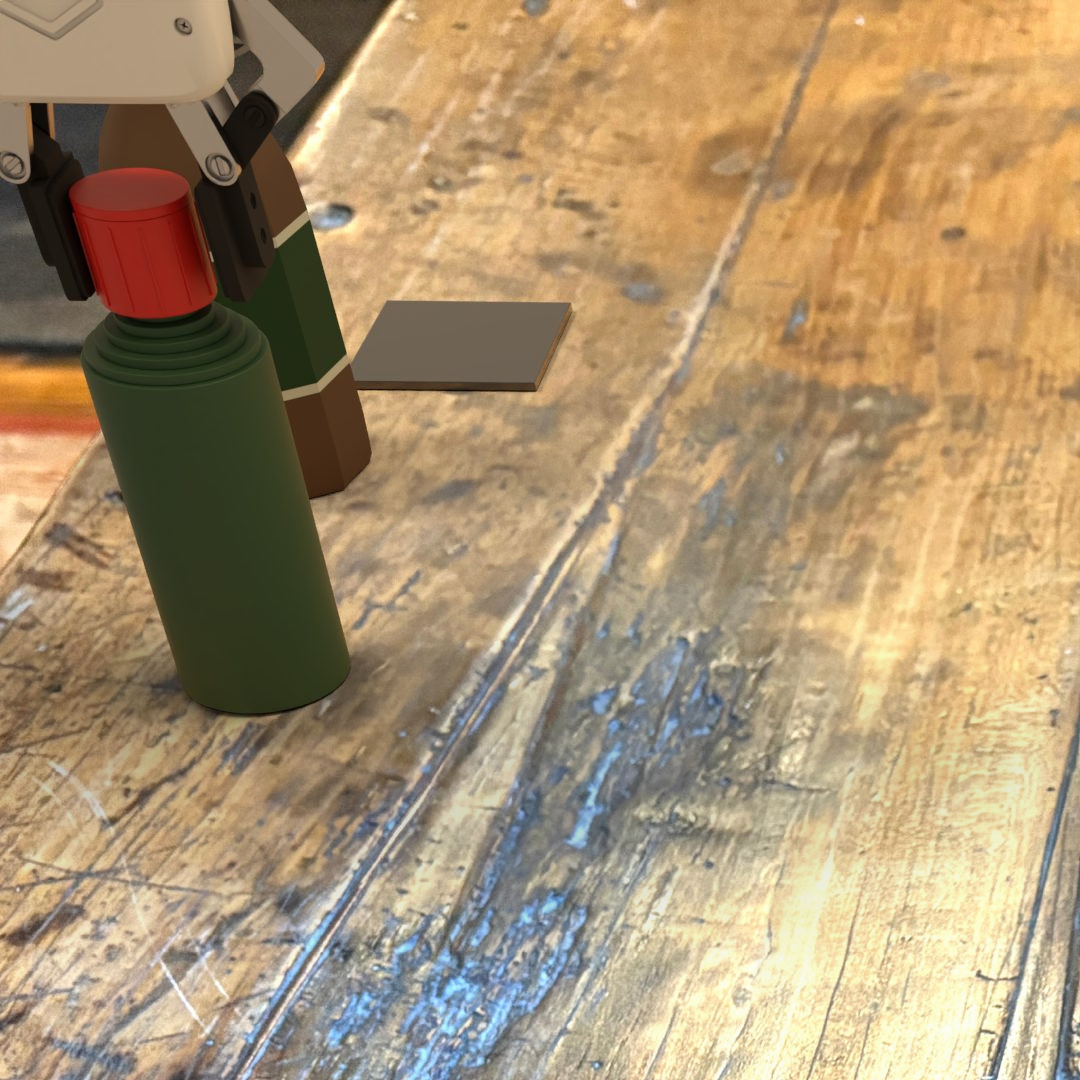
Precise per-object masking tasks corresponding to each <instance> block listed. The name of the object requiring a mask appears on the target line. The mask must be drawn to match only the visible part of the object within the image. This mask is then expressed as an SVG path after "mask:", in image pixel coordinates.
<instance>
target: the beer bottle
mask: <svg viewBox="0 0 1080 1080" xmlns="http://www.w3.org/2000/svg"><path fill="white" fill-rule="evenodd" d="M235 95H236V97H237V99H238V101H239V102H240V100H241V99H242V98H240V97H239V96H238V95H237V94H236V93H235ZM98 139H99V140H98V170H97V171H98V172H97V173H100V172H104V171H108V170H114V169H123V168H153V169H160V170H165V171H169V172H173V173H176V174H178V175H180V176H182V177H183V178H185V179H186V180H187V182H188V183H189V186H190V190H191V194H192V197H193V201H195V197H194V188H195V187H196V185H197V184H198V182H199V181H200V180H201V178H202V176H201V172H200V169H199V166H198V161H197V160H196V158H195V156H194V154H193V153H192V151H191V149H190V147H189V146H188V144H187V142H186V140H185V139H184V137H183V135H182V133H181V132H180V130H179V128H178V126H177V125H176V123H175V121H174V119H173V118H172V116H171V114H170V112H169V111H168V109H167V107H166V105H165V104H108V108H107V111H106V114H105V117H104V120H103V123H102V126H101V129H100V132H99V136H98ZM250 162H251V165H252V169H253V172H254V175H255V179H256V182H257V186H258V189H259V193H260V196H261V200H262V203H263V207H264V210H265V214H266V217H267V221H268V224H269V228H270V231H271V234H272V238H273V242H274V248H275V258H274V262H273V264H272V265H271V267H270V268H268V272H267V274H266V276H265V278H264V279H263V281H262V282H261V284H260V286H259V287H258V289H257V290H256V292H255V293H254V295H253V297H252V298H251V300H250V301H249V302H232V301H231V299H230V298H226V297H225V295H224V293H223V289H222V286H221V283H220V280H219V276H218V273H217V270H216V266H215V263H214V260H213V257H212V253H211V250H210V247H209V244H208V240H207V237H206V234H205V231H204V227H203V224H202V227H203V231H204V235H205V238H206V242H207V246H208V249H209V253H210V257H211V261H212V264H213V268H214V272H215V275H216V279H217V283H216V286H217V295H216V297H215V299H214V300H213V301H215V302H217V303H219V304H221V305H222V306H224V307H227V308H229V309H231V310H233V311H235V312H236V313H238V314H241V315H243V316H245V317H246V318H248V319H250V320H251V321H252V322H253V323H254V324H255V325H256V326H257V328H258V329H259V330H260V331H262V333H263V334H264V335H265V336H266V338H267V340H268V342H269V345H270V349H271V353H272V357H273V361H274V365H275V369H276V373H277V376H278V380H279V384H280V388H281V392H282V396H283V400H284V404H285V407H286V411H287V415H288V419H289V423H290V427H291V431H292V435H293V439H294V442H295V446H296V450H297V454H298V458H299V462H300V466H301V470H302V473H303V477H304V481H305V485H306V489H307V493H308V497H309V500H310V499H313V498H317V497H321V496H324V495H328V494H333V493H335V492H339V491H343V490H345V489H346V487H348V485H349V484H350V483H352V481H353V480H354V479H355V478H356V477H357V476H358V474H360V473H361V472H362V470H364V468H365V467H366V466H367V465H368V464H369V463H370V462H371V457H372V453H373V451H372V447H371V446H372V445H371V442H370V436H369V432H368V427H367V423H366V417H365V413H364V410H363V406H362V402H361V399H360V396H359V392H358V391H359V390H358V389H357V388H356V384H355V380H354V377H353V373H352V369H351V366H350V364H351V361H350V359H349V356H348V351H347V348H346V344H345V340H344V338H343V337H344V336H343V334H342V329H341V326H340V323H339V319H338V316H337V312H336V309H335V304H334V302H333V297H332V294H331V290H330V286H329V283H328V279H327V276H326V272H325V268H324V265H323V261H322V257H321V254H320V250H319V247H318V243H317V240H316V236H315V233H314V229H313V228H314V227H313V225H312V222H311V218H310V213H309V210H308V207H307V204H306V202H305V199H304V197H303V193H302V191H301V188H300V185H299V182H298V180H297V177H296V174H295V171H294V169H293V166H292V163H291V162H290V160H289V159H288V157H287V155H286V154H285V152H284V151H283V150H282V148H281V146H280V145H279V143H278V142H277V140H276V138H275V137H274V135H273V134H272V131H271V132H270V133H269V134H268V136H267V137H266V139H265V140H264V142H263V143H262V145H261V146H260V147H259V149H258V150H257V152H256V153H255V155H254V156H253V157H252V159H251V160H250ZM196 205H197V204H196ZM197 209H198V208H197ZM198 212H199V211H198ZM199 216H200V214H199ZM200 220H201V218H200ZM201 223H202V221H201Z"/></svg>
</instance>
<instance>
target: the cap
mask: <svg viewBox="0 0 1080 1080" xmlns="http://www.w3.org/2000/svg"><path fill="white" fill-rule="evenodd" d="M69 198H70V201H71V204H72V208H73V211H74V212H72V214H73V218H74V221H75V224H76V227H77V231H78V234H79V237H80V241H81V244H82V247H83V250H84V254H85V257H86V260H87V264H88V267H89V270H90V273H91V277H92V280H93V283H94V287H95V290H96V291H95V293H96V296H98V297H99V300H100V302H101V304H102V305H103V306H104V308H105V309H107V310H108V311H110V312H111V311H112V312H114V313H116V314H119V315H123V316H127V317H134V318H167V317H174V316H180V315H185V314H188V313H191V312H194V311H196V310H199V309H202V308H204V307H205V306H207V305H208V304H210V303H211V302H212V301H213V300H214V299H215V297H216V295H217V286H216V283H217V279H216V275H215V272H214V268H213V264H212V261H211V257H210V253H209V249H208V246H207V242H206V238H205V235H204V231H203V227H202V223H201V220H200V216H199V212H198V209H197V205H196V201H193V197H192V194H191V190H190V186H189V183H188V182H187V180H186V179H185V178H183V177H182V176H180V175H178V174H176V173H173V172H169V171H165V170H160V169H153V168H123V169H114V170H108V171H104V172H100V173H98V172H96V173H92V174H90V175H87V176H85V178H83V179H81V180H79V181H77V182H76V183H75V184H74V185H73V186H72V187H71V188H70V190H69Z"/></svg>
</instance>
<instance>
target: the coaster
mask: <svg viewBox="0 0 1080 1080" xmlns="http://www.w3.org/2000/svg"><path fill="white" fill-rule="evenodd" d="M572 312H573V305H572V303H571V302H564V301H563V302H562V301H561V302H560V301H559V302H558V301H483V300H482V301H479V300H477V301H476V300H474V301H471V300H398V299H397V300H394V299H393V300H392V299H391V300H389V299H387V300H386V301H385V302H384V304H383V306H382V308H381V309H380V311H379V312H378V314H377V316H376V318H375V320H374V322H373V324H372V325H371V327H370V328H369V330H368V332H367V334H366V335H365V337H364V339H363V340H362V343H361V344H360V345H359V348H358V349H357V351H356V353H355V355H354V357H353V358H352V360H351V361H350V366H351V369H352V373H353V377H354V380H355V384H356V388H357V390H428V391H429V390H431V391H432V390H436V391H442V390H445V391H456V390H457V391H458V390H459V391H527V392H528V391H531V392H533V391H534V392H535V391H538V388H539V385H540V383H541V381H542V379H543V376H544V375H545V372H546V370H547V367H548V365H549V363H550V361H551V358H552V356H553V354H554V352H555V350H556V347H557V345H558V343H559V341H560V339H561V336H562V334H563V332H564V330H565V327H566V325H567V324H568V321H569V318H570V317H571V314H572Z"/></svg>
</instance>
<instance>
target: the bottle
mask: <svg viewBox="0 0 1080 1080" xmlns="http://www.w3.org/2000/svg"><path fill="white" fill-rule="evenodd" d="M82 346H83V348H82V350H81V353H80V356H79V359H80V360H79V361H80V366H81V369H82V373H83V375H84V378H85V382H86V385H87V388H88V391H89V395H90V398H91V401H92V404H93V407H94V410H95V414H96V416H97V419H98V424H99V426H100V429H101V432H102V436H103V439H104V442H105V445H106V448H107V452H108V454H109V458H110V462H111V465H112V468H113V471H114V475H115V477H116V480H117V484H118V487H119V490H120V493H121V496H122V500H123V503H124V506H125V509H126V512H127V515H128V518H129V522H130V525H131V528H132V531H133V534H134V535H133V536H134V539H135V541H136V545H137V547H138V551H139V553H140V557H141V560H142V563H143V566H144V570H145V572H146V575H147V580H148V583H149V585H150V588H151V592H152V595H153V599H154V601H155V605H156V607H157V611H158V614H159V617H160V620H161V621H160V622H161V624H162V626H163V630H164V633H165V637H166V640H167V643H168V647H169V649H170V652H171V655H172V659H173V662H174V665H175V668H176V672H177V675H178V678H179V681H180V684H181V686H182V689H183V690H184V692H185V693H186V694H187V695H188V696H189V697H190V698H191V699H192V700H194V701H195V702H197V703H199V704H201V705H202V706H205V707H208V708H211V709H214V710H217V711H223V712H228V713H234V714H235V713H236V714H268V713H275V712H281V711H286V710H291V709H295V708H300V707H302V706H305V705H307V704H312V703H313V702H316V701H317V700H320V699H322V698H323V697H325V696H327V695H329V694H330V693H332V692H333V691H335V690H337V688H338V687H340V686H341V684H343V682H344V681H345V680H346V679H347V677H348V675H349V673H350V670H351V666H352V665H351V664H352V661H351V656H350V651H349V648H348V645H347V641H346V637H345V633H344V629H343V625H342V621H341V618H340V614H339V609H338V605H337V601H336V598H335V594H334V590H333V586H332V582H331V578H330V575H329V570H328V567H327V563H326V559H325V556H324V551H323V547H322V544H321V540H320V536H319V532H318V528H317V524H316V521H315V520H316V519H315V517H314V512H313V509H312V508H313V507H312V504H311V501H310V499H309V497H308V493H307V489H306V485H305V481H304V477H303V473H302V470H301V466H300V462H299V458H298V454H297V450H296V446H295V442H294V439H293V435H292V431H291V427H290V423H289V419H288V415H287V411H286V407H285V404H284V400H283V396H282V392H281V388H280V384H279V380H278V376H277V373H276V369H275V365H274V361H273V357H272V353H271V349H270V345H269V342H268V340H267V338H266V336H265V335H264V334H263V333H262V331H260V330H259V329H258V328H257V326H256V325H255V324H254V323H253V322H252V321H251V320H250V319H248V318H246V317H245V316H243V315H241V314H238V313H236V312H235V311H233V310H231V309H229V308H227V307H224V306H222V305H221V304H219V303H217V302H215V301H212V302H211V303H210V304H208V305H207V306H205V307H204V308H202V309H199V310H196V311H194V312H191V313H188V314H185V315H180V316H174V317H167V318H134V317H127V316H123V315H119V314H116V313H114V312H112V311H110V312H108V314H107V315H105V317H104V319H102V320H101V321H100V322H99V323H98V324H97V325H96V326H95V328H94V329H93V330H91V331H90V332H89V333H88V335H87V336H86V337H85V339H84V341H83V345H82Z"/></svg>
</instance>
